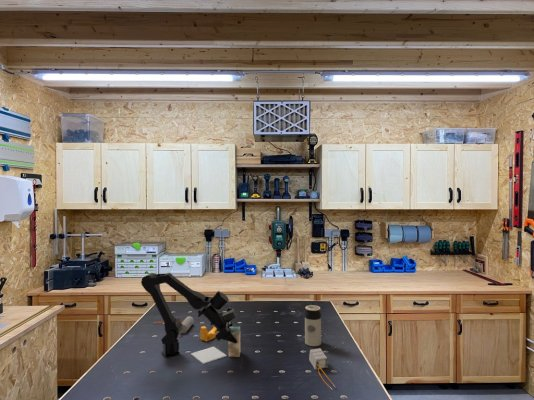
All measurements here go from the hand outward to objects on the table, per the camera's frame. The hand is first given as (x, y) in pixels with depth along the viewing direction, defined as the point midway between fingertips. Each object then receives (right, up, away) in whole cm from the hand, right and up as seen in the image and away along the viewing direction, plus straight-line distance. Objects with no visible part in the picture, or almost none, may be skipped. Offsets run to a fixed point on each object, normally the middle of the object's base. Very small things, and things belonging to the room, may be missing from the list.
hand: (237, 340), depth 160 cm
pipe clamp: (-15, -7, +21) cm, 27 cm away
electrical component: (+38, -7, -18) cm, 43 cm away
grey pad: (-13, -7, -1) cm, 15 cm away
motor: (-41, -7, +32) cm, 52 cm away
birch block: (-1, -7, 0) cm, 7 cm away
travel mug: (+37, -6, +12) cm, 39 cm away
